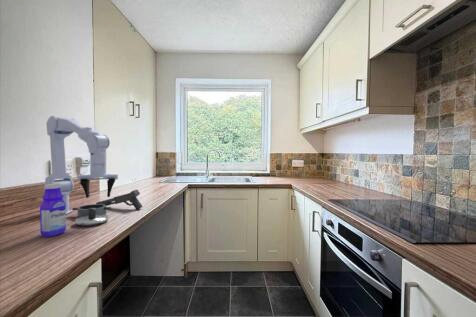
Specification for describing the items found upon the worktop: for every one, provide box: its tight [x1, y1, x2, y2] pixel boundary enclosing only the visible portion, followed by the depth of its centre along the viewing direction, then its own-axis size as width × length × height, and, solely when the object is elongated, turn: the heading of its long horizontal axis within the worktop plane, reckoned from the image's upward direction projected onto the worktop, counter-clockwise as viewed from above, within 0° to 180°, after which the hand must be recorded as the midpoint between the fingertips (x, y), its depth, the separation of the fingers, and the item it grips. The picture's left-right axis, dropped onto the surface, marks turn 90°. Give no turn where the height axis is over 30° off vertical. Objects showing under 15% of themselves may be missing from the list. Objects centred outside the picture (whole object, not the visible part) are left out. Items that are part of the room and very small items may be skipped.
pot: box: [71, 203, 112, 218], centre depth 109 cm, size 15×11×4 cm
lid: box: [74, 208, 109, 227], centre depth 98 cm, size 12×12×6 cm
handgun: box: [95, 189, 144, 211], centre depth 124 cm, size 4×24×10 cm, turn 80°
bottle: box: [39, 184, 67, 238], centre depth 84 cm, size 7×6×17 cm
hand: (98, 197), depth 101 cm, fingers open, 7 cm apart
